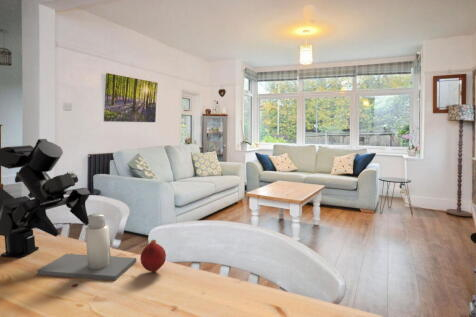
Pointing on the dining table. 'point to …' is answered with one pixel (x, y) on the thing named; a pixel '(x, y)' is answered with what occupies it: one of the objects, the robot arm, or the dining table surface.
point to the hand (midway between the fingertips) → (73, 229)
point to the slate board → (86, 267)
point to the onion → (153, 256)
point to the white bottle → (97, 242)
